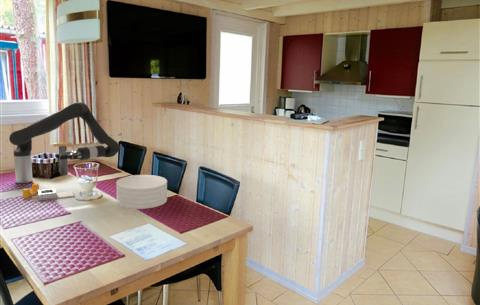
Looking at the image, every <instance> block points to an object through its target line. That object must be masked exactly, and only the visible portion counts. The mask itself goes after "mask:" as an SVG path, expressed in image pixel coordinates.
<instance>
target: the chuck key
mask: <svg viewBox="0 0 480 305" xmlns="http://www.w3.org/2000/svg"><path fill="white" fill-rule="evenodd" d="M52 144H53V145H52V146H53V147H54V148H55V147H58V154H59V158H58V159H59V175H62V176H63V175H64V176H65V175H68V174H69V167H68V166H69V165H68V159H63V160H60V156H62V155H67V151H68V149H67V148H68V147H71V146H72V142H70V141H69V142H54V143H52Z"/></svg>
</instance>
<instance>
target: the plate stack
mask: <svg viewBox="0 0 480 305" xmlns="http://www.w3.org/2000/svg"><path fill="white" fill-rule="evenodd" d="M115 183H116V184H115V185H116V188H115V189H116V203H117V205H118V206H120V207H122V208H126V209H136V210H137V209H139V210H142V209H143V210H144V209H151V208H157V207H159V206H162V205H164V204H165V203H166V202H167V201H168V180H167V179H166V178H165V177H163V176H159V175H154V174H153V175H152V174H134V175H129V176H124V177H121V178H119V179H117V180H116V182H115Z"/></svg>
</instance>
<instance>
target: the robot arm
mask: <svg viewBox="0 0 480 305" xmlns="http://www.w3.org/2000/svg"><path fill="white" fill-rule="evenodd" d="M76 118H77V119H78V118H81V119H82V120H83V121H84V122H85V124H86V125H87V127H88V129H89V131H90V132H91V135H92V136H93V137H94V138H95V139H96V141H97V142H98V143H99V144H100V145H99V144H98V145H93V146H92V145H87V146H82V147H81V146H80V147H78V148H77V149H76V150H67V155H62V156H60V160H63V159H67V160H70V161H72V160H79V161H86V160H93V159H95V158H101V157H102V158H112V157H114V156H115V155H117V154H118V153H119V151H120V150H121V145H120V144H119V143H118V142H117V140H115V139H114V138H112V137H111V136H109V134H108V133H107V132H106V131H105V130H104V128H103V127H102V125H101V124H99V122H98V121H97V119H96V118H95V116H94V115H93V113H92V111H91V110H90V108H89V106H88V105H87V104H86V103H85V102H80V101H77V102H72V103H70V104H68V105H67V106H65V107H64V108H62V109H61V110H59V111H56V112H53V113H51V114H49V115H46V116H45V117H42V118H40V119H39V120H36V121H35V122H33V123H31V124H30V125H28V126H26V127H24V128H21V129H18V130H15V131H13V132H11V133H10V135H9V136H8V137H9V142H10V144H12V145H14V146H16V148H15V150H14V151H13V159H14V160H13V161H14V162H13V163H14V172H15V182H16V183H18V184H25V183H31V182H33V165H32V149H33V147H32V146H33V142H32V139H33V138H35V137H39V136H42V135H45V134H49V133H50V132H52V131H55V130H57V129H59V128H60V127H61V126H62V125H63V124H64V123H66V122H69V121H71V120H73V119H76ZM104 145H106V146H104ZM55 159H59V153H57V154H55Z"/></svg>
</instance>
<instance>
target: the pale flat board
mask: <svg viewBox="0 0 480 305" xmlns="http://www.w3.org/2000/svg"><path fill="white" fill-rule="evenodd" d="M71 192H72V193H73V195H74V197H66V198H58V196H57V199H51V200H42V201H39V198H38V195H33V196H31V201H32V203H40V202H46V201H55V200H63V199H71V198H73V199H74V198H76V196H75V194H74V191H71Z"/></svg>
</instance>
